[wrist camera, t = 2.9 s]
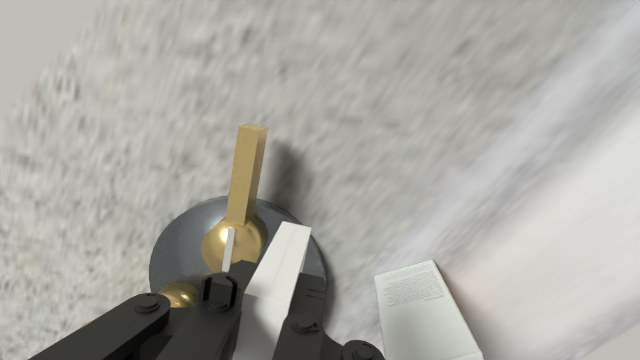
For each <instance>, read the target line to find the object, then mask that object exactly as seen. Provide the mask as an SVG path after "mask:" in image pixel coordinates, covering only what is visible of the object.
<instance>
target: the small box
mask: <svg viewBox="0 0 640 360" xmlns="http://www.w3.org/2000/svg"><path fill="white" fill-rule="evenodd" d="M374 284H375V290H376V297H377V304H378V312H379V319H380V326H381V333H382V340H383V346H384V354H385V360H485V358H484V355H483V353H482V351H481V350H480V348H479V346H478V344H477V342H476V340H475V338H474V337H473V335H472V333H471V331H470V329H469V327H468V325H467V323H466V321H465V320H464V318H463V316H462V314H461V312H460V310H459V308H458V306H457V304H456V303H455V301H454V299H453V297H452V295H451V293H450V291H449V289H448V287H447V285H446V284H445V282H444V280H443V278H442V276H441V274H440V272H439V270H438V268H437V266H436V264H435V262H434V261H433V260H429V261H425V262H422V263H418V264H414V265H411V266H407V267H404V268H400V269H396V270H392V271H389V272H385V273H382V274H378V275H375V276H374Z"/></svg>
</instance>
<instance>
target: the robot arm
mask: <svg viewBox="0 0 640 360" xmlns="http://www.w3.org/2000/svg"><path fill="white" fill-rule="evenodd" d="M310 233H311V227H306V226H302V225H298V224H293V223H289V222H284V221H283V222H282V223H281V225H280V227H279V229H278V231H277V233H276V235H275V236H274V238H273V240H272V242H271V244H270V246H269V247H268V249H267V251H266V253H265V255H264V257H263V259H262V260H261V262H260V264H258V263H254V262H250V261H245V260H240V261H238V262H236V263H234V264H233V265H232V266H231V268H230V269H229V271H228V272H227V273H213V274H210V275H207V276H205V277H204V278H203V279H202V280H201V287H200V295H199V301H198V303H197V304H196V306H193V307H171V302H170V300H169V298H167V297H166V296H164V295H162V294H158V293H144V294H139V295H136V296H134V297H132V298H130V299H128V300H127V301H125V302H123V303H122V304H120V305H118V306H117V307H115V308H113V309H112V310H110V311H108V312H107V313H105V314H103V315H102V316H100V317H98V318H97V319H95V320H93V321H92V322H90V323H88V324H87V325H85V326H83V327H82V328H80V329H78V330H77V331H75V332H73V333H72V334H70V335H68V336H67V337H65V338H63V339H62V340H60V341H58V342H57V343H55V344H53V345H52V346H50V347H48V348H47V349H45V350H43V351H42V352H40V353H38V354H37V355H35V356H33V357H32V358H30V359H28V360H230V359H231V357H232V355H233V359H232V360H385V358H384V356H383V355H382V353H381V352H380V350H379V349H377V348H376V347H375V346H374V345H372V344H370V343H368V342H366V341H361V340H351V341H349V342H347V343H345V345H344V346H342V345H340V344H338V343H337V342H335V341H333V340H332V339H331V338H329V337H328V336H327V335H326V333H325V332H324V330H323V327H322V320H323V312H324V303H325V295H326V286H327V285H326V283H325V281H324V279H323V278H322V277H318V276H314V275H310V274H305V273H302V270H303V265H304V261H305V256H306V251H307V247H308V242H309V237H310Z"/></svg>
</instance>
